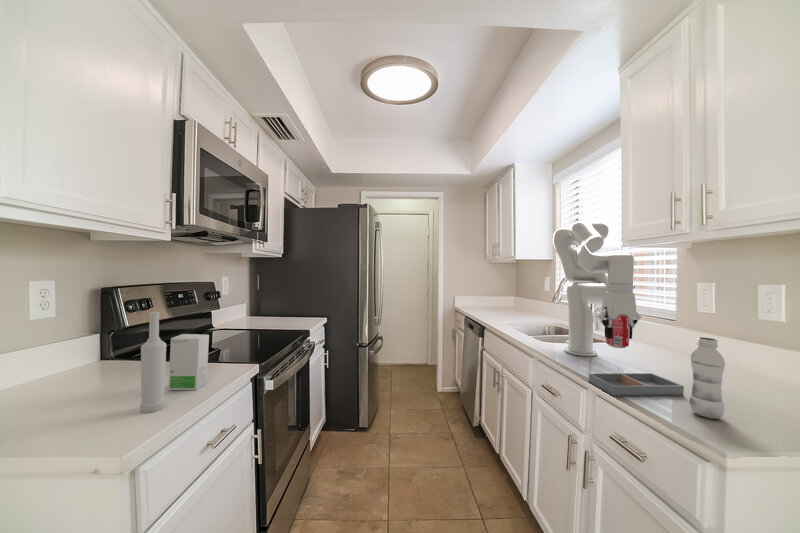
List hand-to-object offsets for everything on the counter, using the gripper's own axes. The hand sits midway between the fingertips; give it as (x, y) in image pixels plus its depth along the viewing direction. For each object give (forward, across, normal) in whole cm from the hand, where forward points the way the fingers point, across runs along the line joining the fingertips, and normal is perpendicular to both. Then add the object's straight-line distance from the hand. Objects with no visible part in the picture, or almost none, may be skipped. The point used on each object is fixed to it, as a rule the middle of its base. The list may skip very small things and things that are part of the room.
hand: (618, 337), depth 112 cm
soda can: (+3, 0, 0) cm, 3 cm away
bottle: (+12, +144, +24) cm, 147 cm away
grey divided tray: (+13, +6, +14) cm, 20 cm away
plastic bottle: (+12, +1, +32) cm, 35 cm away
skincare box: (+12, +144, +9) cm, 145 cm away
